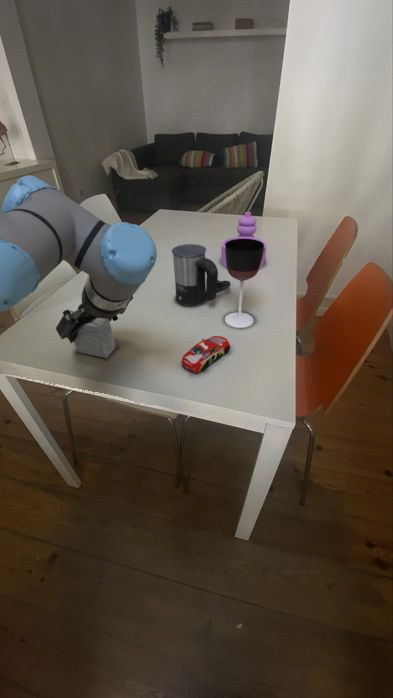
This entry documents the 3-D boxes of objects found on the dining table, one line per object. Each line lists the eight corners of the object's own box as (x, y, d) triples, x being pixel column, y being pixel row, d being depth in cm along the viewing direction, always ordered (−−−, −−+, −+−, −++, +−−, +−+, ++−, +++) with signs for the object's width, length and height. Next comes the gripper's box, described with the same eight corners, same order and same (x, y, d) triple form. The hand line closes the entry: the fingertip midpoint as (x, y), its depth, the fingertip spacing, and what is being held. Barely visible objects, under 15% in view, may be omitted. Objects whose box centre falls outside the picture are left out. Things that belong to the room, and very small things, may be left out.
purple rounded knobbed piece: (263, 272, 106) (268, 232, 98) (218, 269, 109) (219, 230, 101) (265, 245, 126) (269, 210, 118) (226, 243, 128) (228, 209, 120)
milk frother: (169, 303, 91) (165, 252, 82) (193, 280, 102) (191, 234, 93) (214, 313, 86) (215, 261, 77) (234, 288, 97) (237, 240, 88)
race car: (216, 339, 77) (216, 326, 74) (234, 349, 74) (235, 335, 72) (177, 366, 69) (176, 351, 67) (195, 377, 66) (195, 363, 64)
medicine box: (116, 348, 75) (109, 316, 70) (106, 359, 72) (98, 327, 66) (88, 341, 77) (79, 311, 72) (77, 352, 74) (66, 321, 69)
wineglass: (257, 328, 80) (266, 251, 68) (223, 328, 81) (226, 251, 68) (253, 311, 87) (261, 238, 74) (221, 312, 87) (224, 238, 75)
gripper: (61, 334, 49) (51, 363, 69) (165, 291, 60) (130, 327, 79) (37, 291, 49) (34, 333, 69) (145, 256, 60) (115, 301, 79)
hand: (85, 330), depth 74 cm, fingers closed on medicine box, 7 cm apart
